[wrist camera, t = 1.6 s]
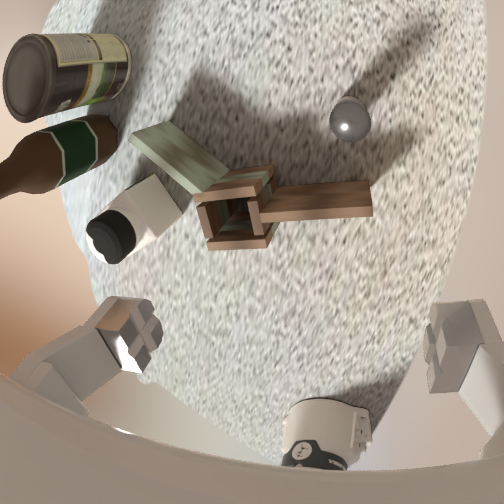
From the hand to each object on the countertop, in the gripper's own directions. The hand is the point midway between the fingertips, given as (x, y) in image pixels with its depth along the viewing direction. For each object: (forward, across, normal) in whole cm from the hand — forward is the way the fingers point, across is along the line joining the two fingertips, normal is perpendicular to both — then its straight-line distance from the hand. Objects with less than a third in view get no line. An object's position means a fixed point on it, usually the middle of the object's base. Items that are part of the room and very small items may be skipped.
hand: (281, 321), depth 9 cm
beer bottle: (+31, +31, -4) cm, 44 cm away
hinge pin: (+29, -3, -2) cm, 29 cm away
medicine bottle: (+30, +24, +7) cm, 40 cm away
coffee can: (+31, +27, -14) cm, 44 cm away
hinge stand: (+29, +7, +3) cm, 30 cm away
